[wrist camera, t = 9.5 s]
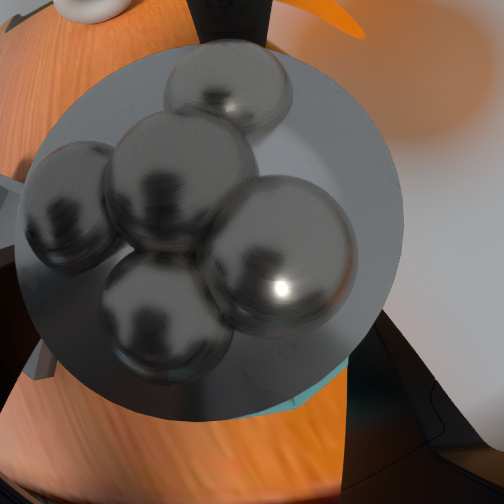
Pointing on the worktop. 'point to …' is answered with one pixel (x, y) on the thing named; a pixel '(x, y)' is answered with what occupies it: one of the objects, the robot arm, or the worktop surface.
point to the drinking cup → (231, 19)
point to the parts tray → (3, 230)
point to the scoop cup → (208, 231)
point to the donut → (90, 9)
